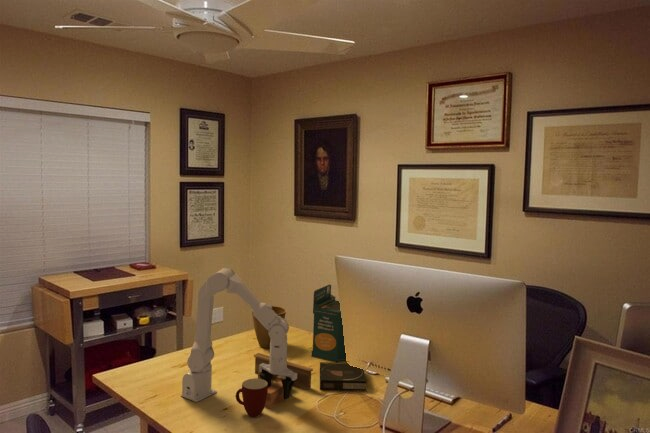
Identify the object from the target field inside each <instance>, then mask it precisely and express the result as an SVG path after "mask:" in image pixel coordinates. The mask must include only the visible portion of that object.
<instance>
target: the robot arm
mask: <svg viewBox="0 0 650 433" xmlns="http://www.w3.org/2000/svg"><path fill="white" fill-rule="evenodd" d="M225 290H226V291H225ZM223 291H225V293H227V294H236V295H237V296H238V297H239V298H240V299H241V300H242V301H243V302H244V303H245V304H247V305H248V306H249V307H250V309H251V310H252V309H253V312H254V316H255V317H256V319H257V320H258V321H259V322H260V323H261V324H262V325H263V326H264V327H265V328H266V329H267V330H269V332H268V333H269V336H270V338H271V342H270V348H269V356H270V364H264V363H262V364H260V365H259V370H260V371H262V372H261V373H260V374H259V376H260V378H261V379H263V380H265V381H267V383H268V387H270V386H272V385H273V383H272V381H273V379H272V377H273V374H274V375H280V376H283V377H286V379H284V380H282V385H283V398H284V400H285V401H286V400H288V399H289V398H290V396H289V395H290V392H291V389H292V390H293V387H294V386H293V384H294V383H295V381H296V379H297V373H295V372H293V371H291V370H290V369H288V368H287V360H288V332H289V330H290V325H289V323H288V321H287V319H286V318H285V319H283V318H281V317H280V316H278V315H277V314H276V313H275V312H274V311H273V310H272V309H271V308H272V306H273V305H271V304H269V305H268V304H267V303H266V302H261V301H260V300H259V299H258V298H257V296H256V295H255V294H254V293H253V292H252V291H251V290H250V288H249V287H248V286H247V285H246V284H245V283H244V282H243V279H241V277H240V276H239V275H238V274H237V273H236V272H235V271H234V270H233V269H232V268H229V267H223V268H222V267H221V269H219V270H217V271H216V272H214V273H213V274H211V275H209V276H207V278H206V280H205V281H204V282H203V283H202V285H201V286H200V287H199V289H198V294H197V295H198V296H197V305H196V307H197V308H196V320H195V332H194V333H195V334H194V342H193V344H192V347H191V349H190V353H189V354H190V355H189V356H188V358H187V367H188V368H189V370H188V371H187V372H186V373H185V374H184V375H183V376H182V384H181V385H182V386H181V388H182V391H181V394H180V397H183V398H185V399H188V400H190V401H193V402H195V403H198V402H200V401H202V400H204V399H206V398H208V397H210V396H212V395H213V394H216V393H217V392H218V390H217V389H215V388H214V389H213V388H212V381H213V380H212V375H213V374H212V373H213V372H212V371H213V370H212V369H213V368H212V367H213V365H212V363H211V361H212V360H213V359H214V357H215V351H214V348H213V341H212V338H211V336H212V326H213V324H212V323H213V313H214V312H213V311H214V300H215V295H216V294H218V293H222V292H223ZM284 400H283V401H284Z"/></svg>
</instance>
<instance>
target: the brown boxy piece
mask: <svg viewBox="0 0 650 433" xmlns="http://www.w3.org/2000/svg"><path fill="white" fill-rule="evenodd" d="M284 379H286V377H281V379H280V381H279V382H277V381H276V382H275V383H272V386H270V387H268V393H267V398H266V403H265V407H264V408H268V409H272V408H273V407H275V406H276V405H278V404H280V403H281V402H283V401H284V398H283V385H282V380H284ZM292 392H293V388H292V389H291V392H290V395H289V397H291V396H292V395H293V393H292Z"/></svg>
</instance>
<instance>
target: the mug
mask: <svg viewBox="0 0 650 433" xmlns="http://www.w3.org/2000/svg"><path fill="white" fill-rule="evenodd" d="M267 393H268V383H267V381H265V380H263V379H258V378H248V379H246V380H244V381H242V383H241V388H238V390H237V391H236V393H235V399H236V402H237V403H238V404H240V405H242V406H243V407H244V411H245V412H246V413H247V416H248V417H251V418H257V417H260V416H261V414H262V413H263V411H264V409H265V408H266V407H265V403H266V398H267ZM240 394H241V395H242V400H241V397H240Z"/></svg>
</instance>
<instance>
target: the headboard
mask: <svg viewBox="0 0 650 433" xmlns="http://www.w3.org/2000/svg"><path fill="white" fill-rule="evenodd" d="M253 358H254V360H255V361H254V363H255V366H254V374H255V375H257V379H261V378H260V376H259V374H260V373H261V372H262V371H260V370H259V365H260V364H262V363H264V364H270V355H267V354H263V353H260V352H257V353H255V354H253ZM287 368H288V369H290V370H291V371H293V372H295V373H297V379H296V381H295V383H294V384H293V386H292V387H297V388H301V389H303V390H306V391H308V390H310V389H311V387H312V386H311V384H312V372H313V371H314V367H313V368H312V367H308V366H305V365H302V364H299V363H295V362H292V361H289V360H288V361H287ZM281 377H283V376H280V375H274V374H273V377H272V380H275V381H276V383H277V382H279V381H280V379H281Z"/></svg>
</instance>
